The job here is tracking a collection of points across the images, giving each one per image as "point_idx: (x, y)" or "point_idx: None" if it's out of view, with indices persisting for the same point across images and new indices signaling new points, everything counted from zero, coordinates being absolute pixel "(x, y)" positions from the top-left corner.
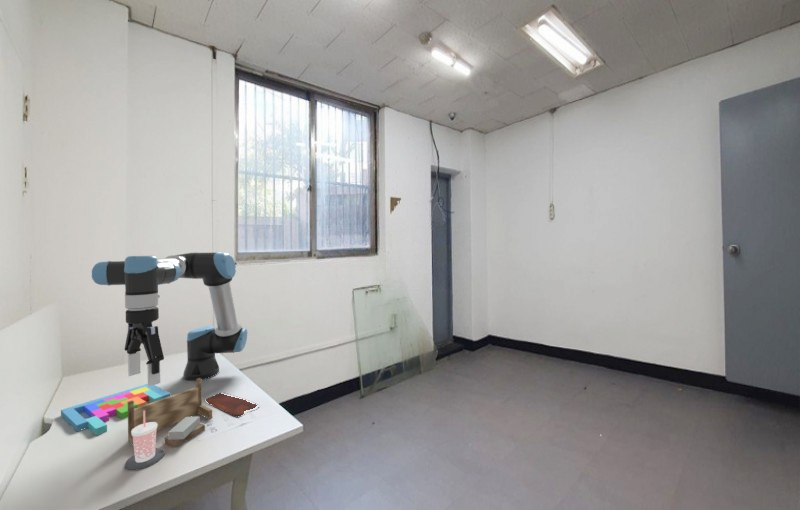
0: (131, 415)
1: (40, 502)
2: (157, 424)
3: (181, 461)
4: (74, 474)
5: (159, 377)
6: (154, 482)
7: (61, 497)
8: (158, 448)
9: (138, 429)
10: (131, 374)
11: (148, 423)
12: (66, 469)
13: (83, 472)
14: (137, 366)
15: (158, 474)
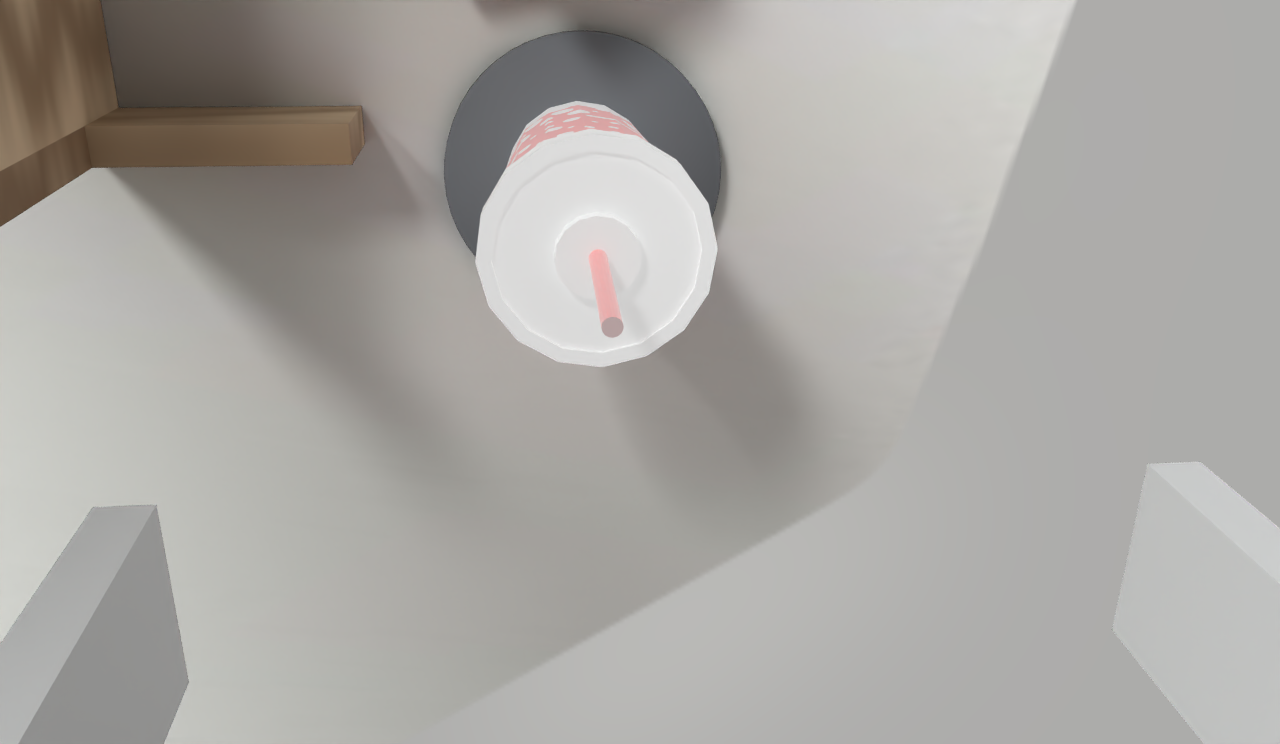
0: (6, 195)
1: (510, 674)
2: (646, 144)
3: (895, 4)
4: (327, 520)
5: (1276, 539)
6: (959, 239)
7: (564, 605)
8: (528, 48)
9: (573, 302)
10: (176, 670)
11: (517, 190)
12: (196, 539)
13: (353, 481)
14: (98, 670)
15: (892, 186)
